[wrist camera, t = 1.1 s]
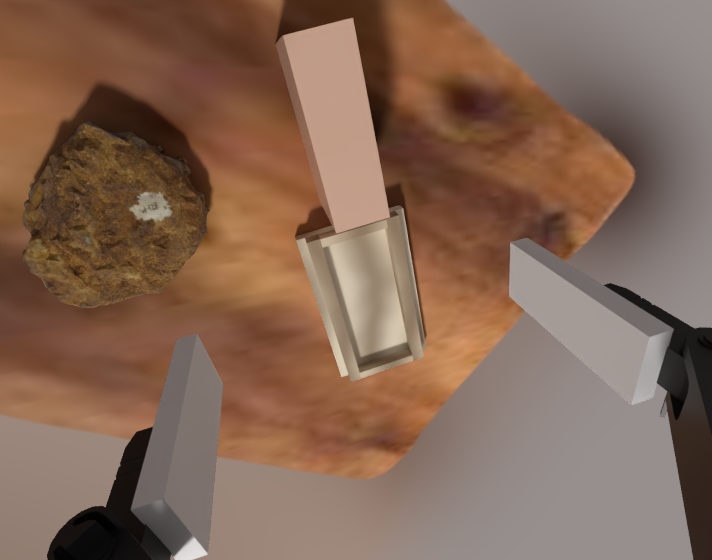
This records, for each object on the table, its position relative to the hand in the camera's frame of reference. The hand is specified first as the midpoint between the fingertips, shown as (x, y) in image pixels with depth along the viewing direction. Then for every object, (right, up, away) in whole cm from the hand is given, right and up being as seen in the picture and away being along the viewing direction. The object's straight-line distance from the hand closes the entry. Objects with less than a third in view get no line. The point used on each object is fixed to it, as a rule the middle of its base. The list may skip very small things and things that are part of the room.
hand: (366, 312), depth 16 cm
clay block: (-3, +14, +15) cm, 21 cm away
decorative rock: (-19, +6, +15) cm, 26 cm away
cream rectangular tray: (+1, 0, +24) cm, 24 cm away
